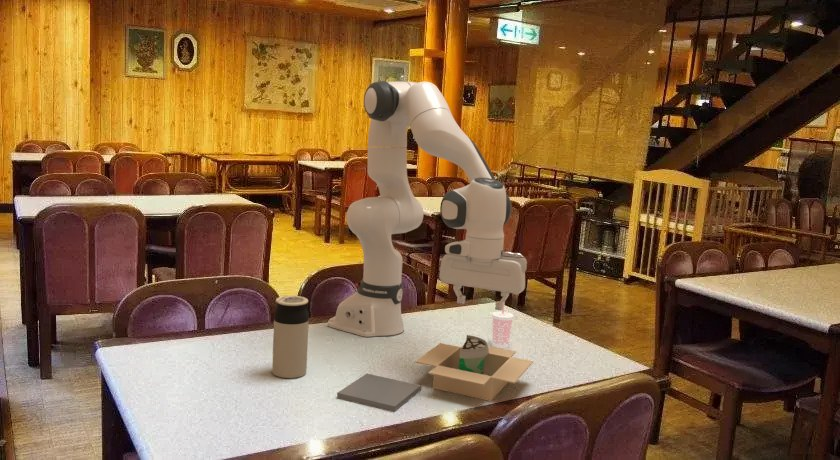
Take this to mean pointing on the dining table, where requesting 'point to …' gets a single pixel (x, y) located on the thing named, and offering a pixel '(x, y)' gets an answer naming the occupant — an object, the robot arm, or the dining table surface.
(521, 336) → the dining table surface
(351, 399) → the slate board
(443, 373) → the carton
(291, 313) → the travel mug
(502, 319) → the beverage cup
